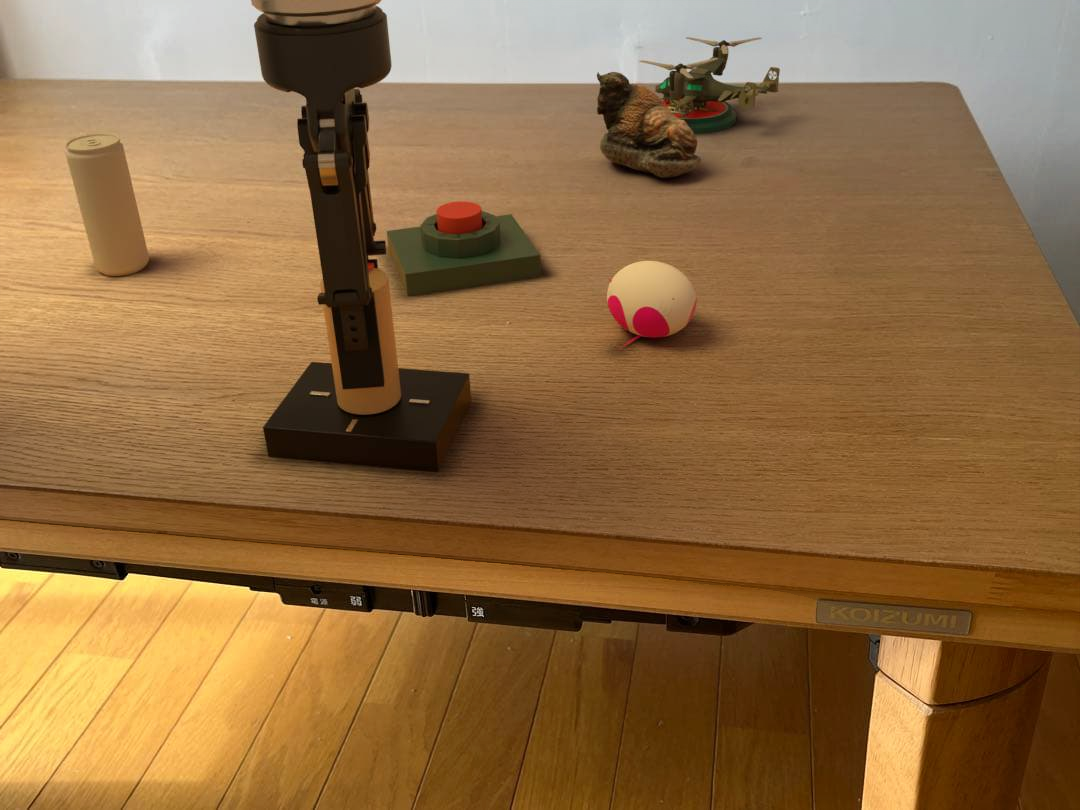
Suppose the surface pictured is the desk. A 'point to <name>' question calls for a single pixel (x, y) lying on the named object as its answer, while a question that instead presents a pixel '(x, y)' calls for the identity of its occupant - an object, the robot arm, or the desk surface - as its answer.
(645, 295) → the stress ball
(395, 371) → the knob
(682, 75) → the toy helicopter
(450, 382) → the panel
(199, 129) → the desk surface
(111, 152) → the beverage can
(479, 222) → the button
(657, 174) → the bison figurine
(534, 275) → the button box
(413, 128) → the desk surface
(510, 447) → the desk surface
